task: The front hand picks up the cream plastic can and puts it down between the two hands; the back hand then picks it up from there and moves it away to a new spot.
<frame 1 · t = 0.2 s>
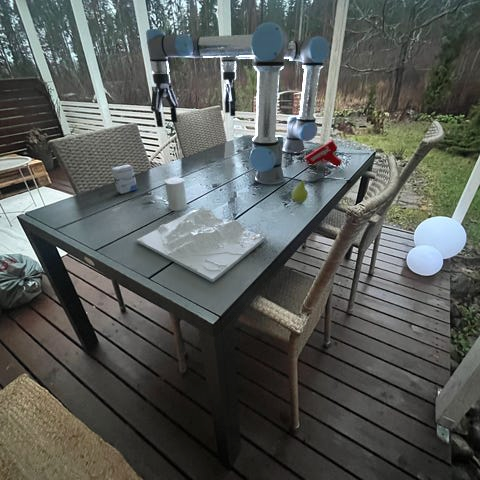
front hand: (167, 124, 132), 28 cm above the table, tool pointing down, fingers open, 13 cm apart
back hand: (229, 114, 158), 28 cm above the table, tool pointing down, fingers open, 13 cm apart
relief map: (201, 241, 95), on the table
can: (178, 207, 118), on the table
ink box: (127, 190, 134), on the table
toy gun: (322, 166, 164), on the table
fruit: (299, 202, 122), on the table
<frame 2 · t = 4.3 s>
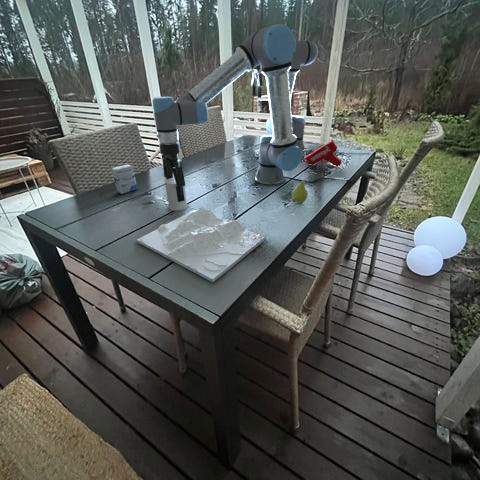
front hand: (176, 197, 116), 4 cm above the table, tool pointing down, fingers closed on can, 8 cm apart
back hand: (256, 96, 202), 32 cm above the table, tool pointing down, fingers open, 13 cm apart
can: (178, 207, 118), on the table, touching front hand
everything else where it was.
when the front hand's fingers open (6 cm above the table, at t = 12.7 s): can drops 2 cm, on the table.
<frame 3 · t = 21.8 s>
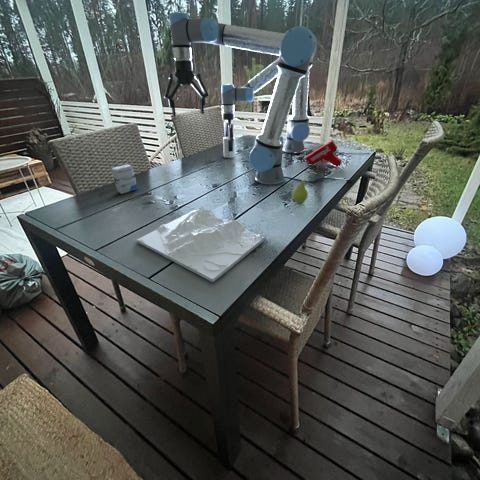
front hand: (188, 114, 127), 33 cm above the table, tool pointing down, fingers open, 13 cm apart
back hand: (229, 149, 182), 4 cm above the table, tool pointing down, fingers closed on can, 8 cm apart
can: (229, 156, 184), on the table, touching back hand
everything else where it was.
when the back hand's fingers open (6 cm above the table, at t = 31.7 s): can drops 2 cm, on the table.
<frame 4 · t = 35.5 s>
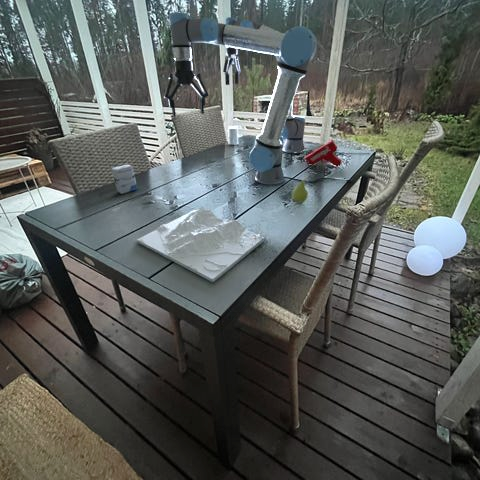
front hand: (188, 114, 127), 33 cm above the table, tool pointing down, fingers open, 13 cm apart
back hand: (232, 84, 192), 41 cm above the table, tool pointing down, fingers open, 13 cm apart
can: (233, 143, 214), on the table
everything else where it was.
at the end: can inside the target area (0.1 cm from its centre), on the table; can tilted 0°; the two hands never held the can at the same time; the front hand is holding nothing; the back hand is holding nothing; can at rest at the end (0.0 cm/s) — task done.
